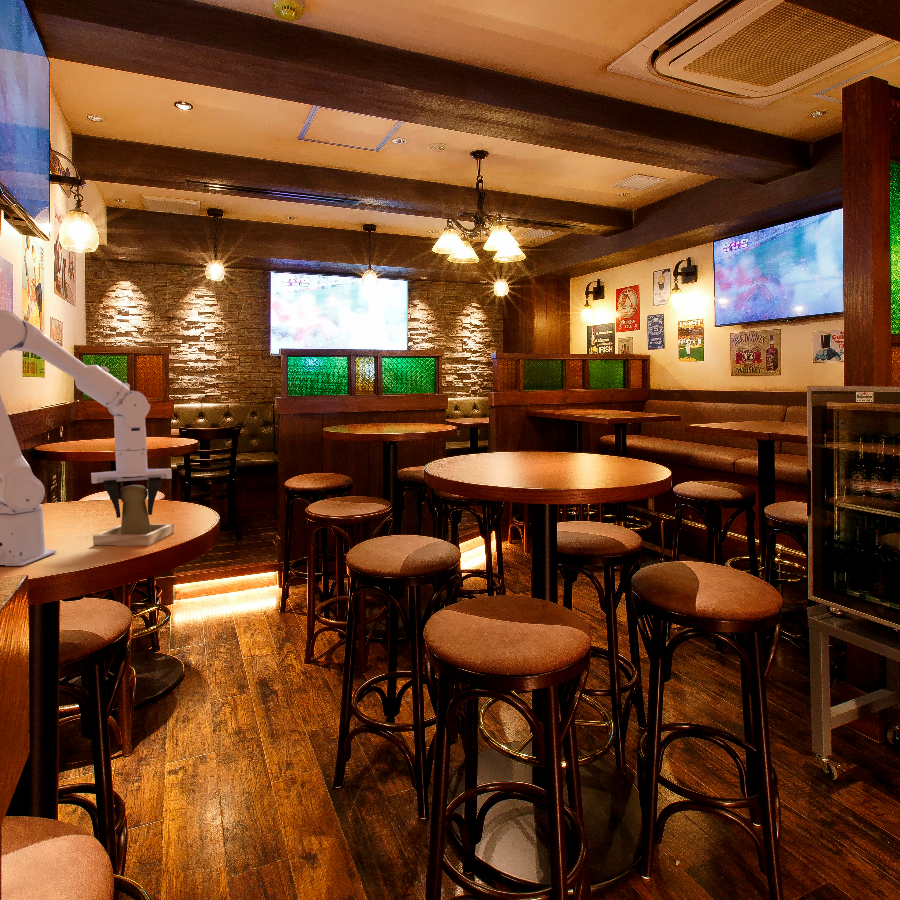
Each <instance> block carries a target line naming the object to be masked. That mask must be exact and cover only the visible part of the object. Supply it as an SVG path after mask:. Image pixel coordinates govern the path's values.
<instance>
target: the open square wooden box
mask: <svg viewBox="0 0 900 900" xmlns="http://www.w3.org/2000/svg"><path fill="white" fill-rule="evenodd" d="M150 526H151V531H152V532H150V533H148V534H146V535H121V524H119V525H116V526H113V527H111V528H109V529H106V530H104V531H101V532H99V533H96V534H93V535H92V543H93V545H116V546H115V547H117V546H118V547H120V546H122V547H125V546H127V547H129V546H133V547H135V546H136V547H137V546H138V547H141V546H142V547H148V546H151V545H154V544H155V543H157V542H159V541H161V540H163V539H165V538H167V537H169V536H171V535H173V534H175V524H174V523H150ZM172 533H173V534H172ZM170 534H171V535H170ZM168 535H169V536H168ZM166 536H167V537H166ZM164 537H165V538H164Z"/></svg>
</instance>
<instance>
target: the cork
mask: <svg viewBox="0 0 900 900" xmlns="http://www.w3.org/2000/svg"><path fill="white" fill-rule="evenodd" d="M118 496H119V499H120V500H121V502H122V511H121V524H120V525H121V535H146V534H148V533H150V532H152V531H151V526H150V524H151V521H150V517H149V515H148V507H147V503H146V499H148V488H147V487H146V486H144V485H142V484H131V485H130V484H129V485H126V486H123V487H121V488H120V490H119V492H118Z"/></svg>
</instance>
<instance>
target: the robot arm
mask: <svg viewBox="0 0 900 900" xmlns="http://www.w3.org/2000/svg"><path fill="white" fill-rule="evenodd" d="M10 350H11V351H18V352H26V353H33V354H34V355H36V356H37V357H38V358H39V357H40V358H41V359H42V360H44V361H46V362H47V363H49V364H50V365H52V366H54V367H56V368H57V369H58V370H61V371H62V372H63V373H65V374H67V375H68V376H70V377H72V378H73V379H74V383H75V387H76V389H77V390H79V391H81V392H82V393H84V394H85V395H86V396H88V397H90V398H91V399H93V400H95V401H96V402H97V403H99V404H100V405H102V406H103V407H105V408H107V409H108V412H109V413H110V414H111V415H112V416H113V425H114V428H113V429H114V430H113V431H114V446H115V448H114V449H115V450H114V451H115V453H114V454H115V469H116V470H113V471H111V470H110V471H102V472H101V471H100V472H91V473H90V476H91V478H90V479H91V484H99V483H103V488H104V489H105V491H106V493H107V495H108V496H109V498H110V500H111V502H112V504H113V508H114V510H115V511H114V512H115V515H116V518H117V519H120V518H121V519H122V515H121V510H120V509H121V507H120V500H119V499H120V498H119V485H118V482H127V481H128V482H130V481H146V484H147V487H146V489H147V492H148V495H147V512H148V516H152V515H153V510H154V509H153V508H154V505H155V500H156V497H157V494H158V491H159V489H160V487H161V485H162V479H166V480H168V479H169V480H170V479H173V477H172V476H173V475H172V474H173V473H172V472H173V471H172V468H149V467H148V448H147V447H148V445H147V444H148V443H147V428H146V427H147V426H146V417H147V415H148V414H149V412H150V410H151V404H150V403H149V401H148V400H147V397H146V396H145V395H144V394H143V393H142V392H140V391H137V390H131V389H130V387H131V385H130V384H129V383H128V382H122V381H121V380H119V379H118V378H117V377H115V376H114V375H112V374H111V373H109V372H110V369H109V368H108V367H107V366H99V365H98V364H90V365H87V364H85V363H84V362H82V361H81V360H80V359H78V358H77V357H75V356H74V354H72V353H70V352H69V351H68V350H67V349H65V348H64V347H63V346H61V345H60V344H58V343H57V342H55V341H54V339H52V338H50V337H49V336H48V335H46V334H45V333H44V332H42V331H41V330H40V329H38V328H37V327H36V326H35V325H34V324H33V323H31V322H29V321H26V320H24V319H21V318H20V317H19V316H18V315H17V314H15V313H14V312H11V311H9V310H6V309H0V358H1V357H2V356H3V354H4V353H6V352H8V351H10ZM45 489H46V488H45V486H44V484H43V482H42V481H41V480H40V479H38V478H37V477H36V476H35V475H34V473H33V471H32V468H31V466H30V464H29V463H28V462H27V460H26V459H25V457H24V456H23V453H22V451H21V447H20V445H19V442H18V440H17V437H16V435H15V431H14V428H13V426H12V422H11V420H10V418H9V415H8V412H7V409H6V407H5V404H4V401H3V399H2V396H1V394H0V565H5V567H6V566H7V567H11V566H14V567H21V566H25V565H28V564H31V563H33V562H35V561H37V560H38V561H39V560H40V559H43V558H45V557H48V556H51V555H53V554H55V553H57V549H46V543H45V542H46V541H45V527H44V526H45V525H44V524H45V523H44V511H43V509H44V508H43V504H41V503H43V500H44V498H45V495H46V490H45Z"/></svg>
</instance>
